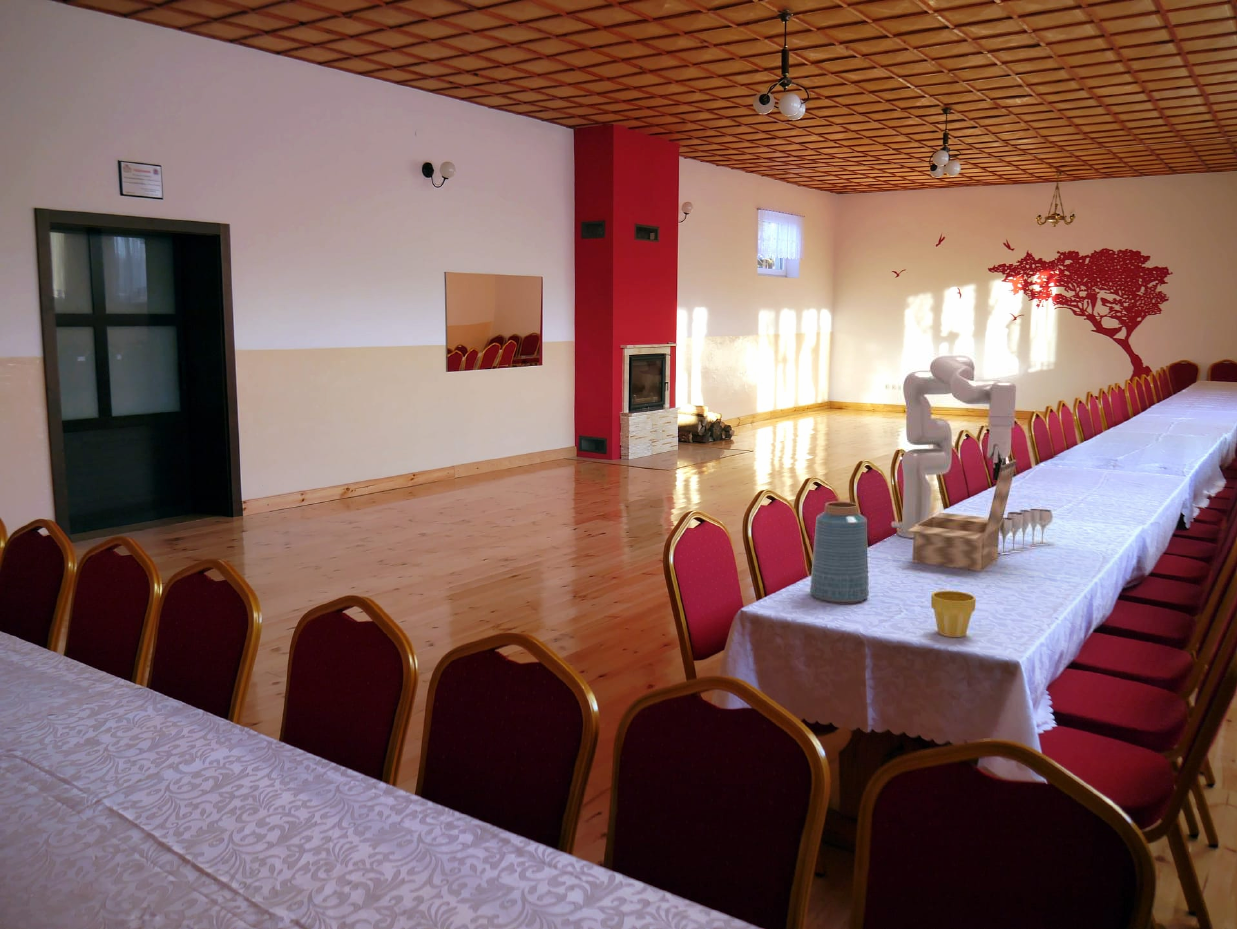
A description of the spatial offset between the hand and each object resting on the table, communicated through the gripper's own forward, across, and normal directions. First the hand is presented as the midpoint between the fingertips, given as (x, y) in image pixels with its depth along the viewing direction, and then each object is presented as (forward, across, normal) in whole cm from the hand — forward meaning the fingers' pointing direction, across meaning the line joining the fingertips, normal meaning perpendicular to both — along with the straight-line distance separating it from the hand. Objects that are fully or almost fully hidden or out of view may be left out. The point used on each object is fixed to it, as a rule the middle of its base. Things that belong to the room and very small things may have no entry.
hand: (998, 480), depth 304 cm
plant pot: (+28, +75, +9) cm, 80 cm away
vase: (+28, +60, -27) cm, 71 cm away
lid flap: (+5, 0, +1) cm, 5 cm away
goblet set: (+28, -31, +2) cm, 42 cm away
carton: (+28, 0, -12) cm, 30 cm away
